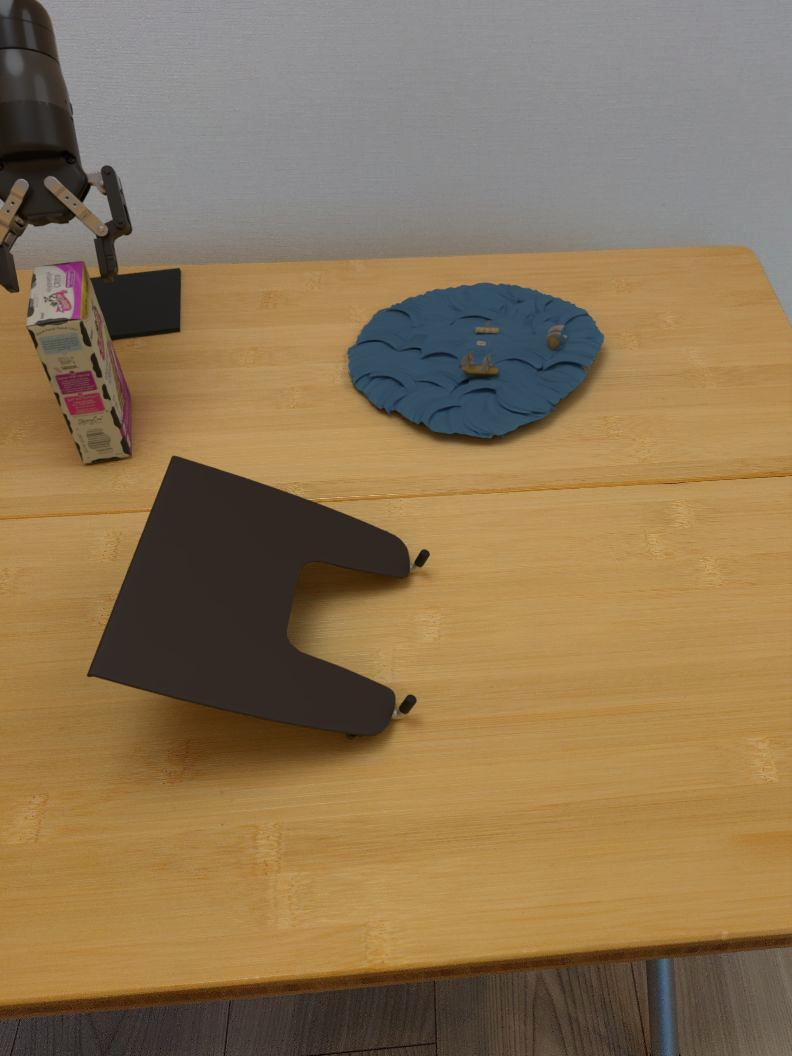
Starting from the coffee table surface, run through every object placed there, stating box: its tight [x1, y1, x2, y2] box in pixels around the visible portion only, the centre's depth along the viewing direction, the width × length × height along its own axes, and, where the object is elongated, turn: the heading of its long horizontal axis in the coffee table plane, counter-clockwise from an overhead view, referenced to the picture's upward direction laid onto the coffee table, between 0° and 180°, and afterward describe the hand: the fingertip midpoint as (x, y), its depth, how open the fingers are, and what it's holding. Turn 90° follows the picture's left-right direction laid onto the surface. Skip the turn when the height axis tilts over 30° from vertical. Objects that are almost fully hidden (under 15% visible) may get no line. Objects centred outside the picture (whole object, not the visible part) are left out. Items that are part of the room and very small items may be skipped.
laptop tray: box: [86, 455, 431, 741], centre depth 78 cm, size 23×23×9 cm
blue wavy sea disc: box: [347, 282, 605, 439], centre depth 107 cm, size 30×30×5 cm
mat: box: [90, 267, 182, 341], centre depth 116 cm, size 12×14×1 cm
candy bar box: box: [25, 260, 132, 465], centre depth 94 cm, size 11×5×16 cm, turn 17°
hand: (60, 285), depth 90 cm, fingers open, 8 cm apart
